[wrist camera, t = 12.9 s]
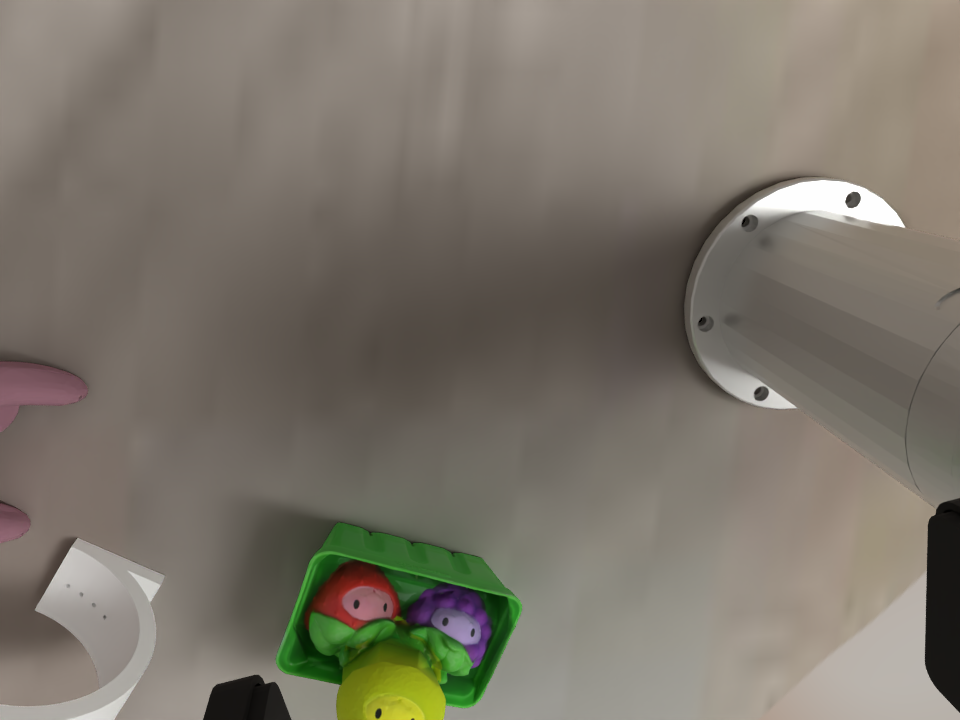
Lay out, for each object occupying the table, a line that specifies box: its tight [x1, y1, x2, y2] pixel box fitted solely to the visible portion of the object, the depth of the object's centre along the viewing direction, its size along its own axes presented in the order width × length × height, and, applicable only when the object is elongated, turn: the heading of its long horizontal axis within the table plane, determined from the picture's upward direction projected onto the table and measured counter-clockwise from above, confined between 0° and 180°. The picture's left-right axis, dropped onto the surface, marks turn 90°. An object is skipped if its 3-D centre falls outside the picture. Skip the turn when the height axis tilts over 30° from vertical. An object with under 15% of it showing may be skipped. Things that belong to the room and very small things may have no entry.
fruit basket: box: [276, 523, 522, 720], centre depth 37 cm, size 11×9×11 cm
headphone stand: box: [0, 538, 165, 720], centre depth 35 cm, size 5×6×12 cm
